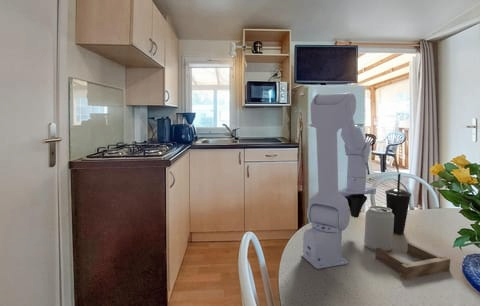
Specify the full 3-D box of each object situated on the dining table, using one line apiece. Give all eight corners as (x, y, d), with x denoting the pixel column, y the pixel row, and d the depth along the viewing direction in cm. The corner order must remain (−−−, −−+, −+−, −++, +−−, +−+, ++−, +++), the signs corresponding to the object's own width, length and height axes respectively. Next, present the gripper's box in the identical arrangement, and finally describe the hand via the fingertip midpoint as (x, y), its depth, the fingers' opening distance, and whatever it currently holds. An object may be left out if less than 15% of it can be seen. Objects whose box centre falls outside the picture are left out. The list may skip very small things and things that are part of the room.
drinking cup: (412, 237, 91) (416, 176, 89) (386, 235, 92) (390, 175, 90) (403, 228, 98) (407, 172, 96) (380, 227, 100) (383, 171, 98)
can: (397, 253, 79) (400, 212, 78) (370, 253, 80) (372, 211, 78) (384, 242, 87) (386, 204, 86) (359, 242, 87) (361, 204, 86)
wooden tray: (405, 279, 66) (406, 267, 66) (372, 259, 76) (373, 248, 76) (449, 270, 70) (450, 259, 70) (412, 252, 80) (413, 242, 80)
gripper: (365, 172, 97) (364, 210, 99) (329, 175, 93) (328, 214, 94) (381, 176, 90) (379, 217, 92) (343, 179, 86) (341, 221, 88)
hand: (354, 216), depth 93 cm, fingers closed
